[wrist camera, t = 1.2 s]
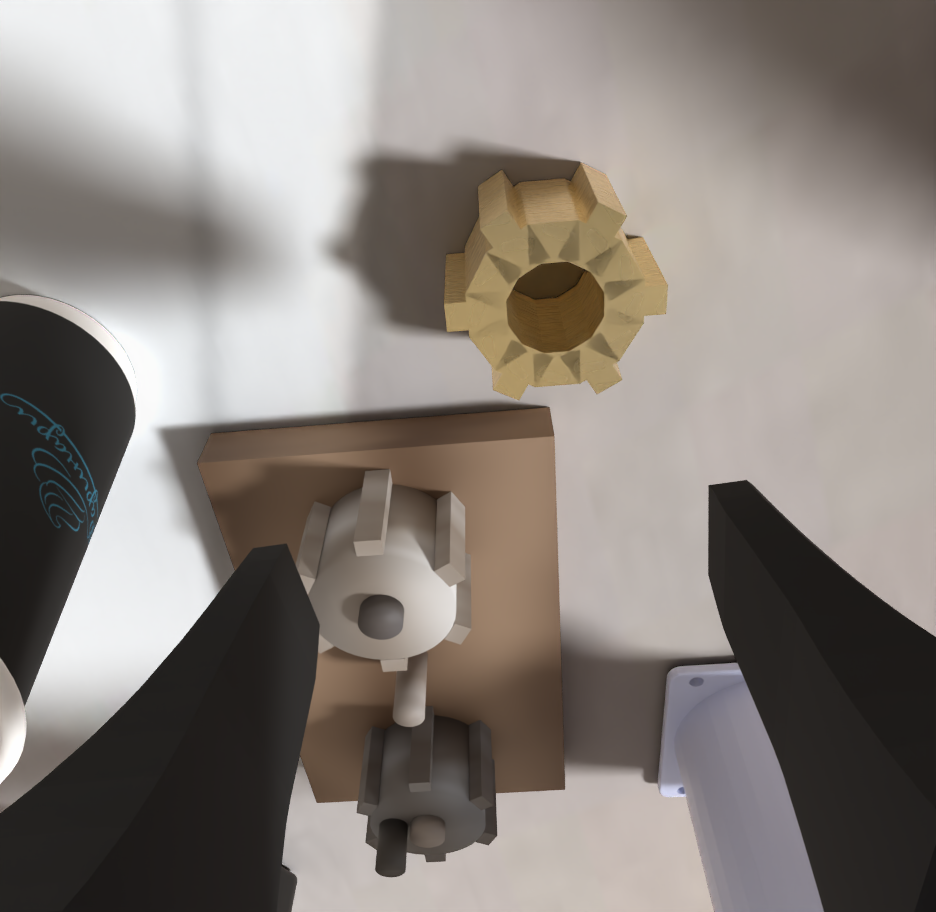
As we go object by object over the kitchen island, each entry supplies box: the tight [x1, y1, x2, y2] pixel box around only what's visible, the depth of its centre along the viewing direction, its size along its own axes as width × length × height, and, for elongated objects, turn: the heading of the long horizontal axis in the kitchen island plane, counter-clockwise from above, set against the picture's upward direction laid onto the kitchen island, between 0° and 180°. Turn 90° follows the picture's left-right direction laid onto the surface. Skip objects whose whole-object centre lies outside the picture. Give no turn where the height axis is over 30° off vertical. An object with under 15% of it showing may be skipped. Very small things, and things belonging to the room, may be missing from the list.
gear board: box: [197, 407, 565, 877], centre depth 26 cm, size 10×17×6 cm, turn 5°
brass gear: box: [444, 163, 668, 400], centre depth 19 cm, size 5×5×3 cm
